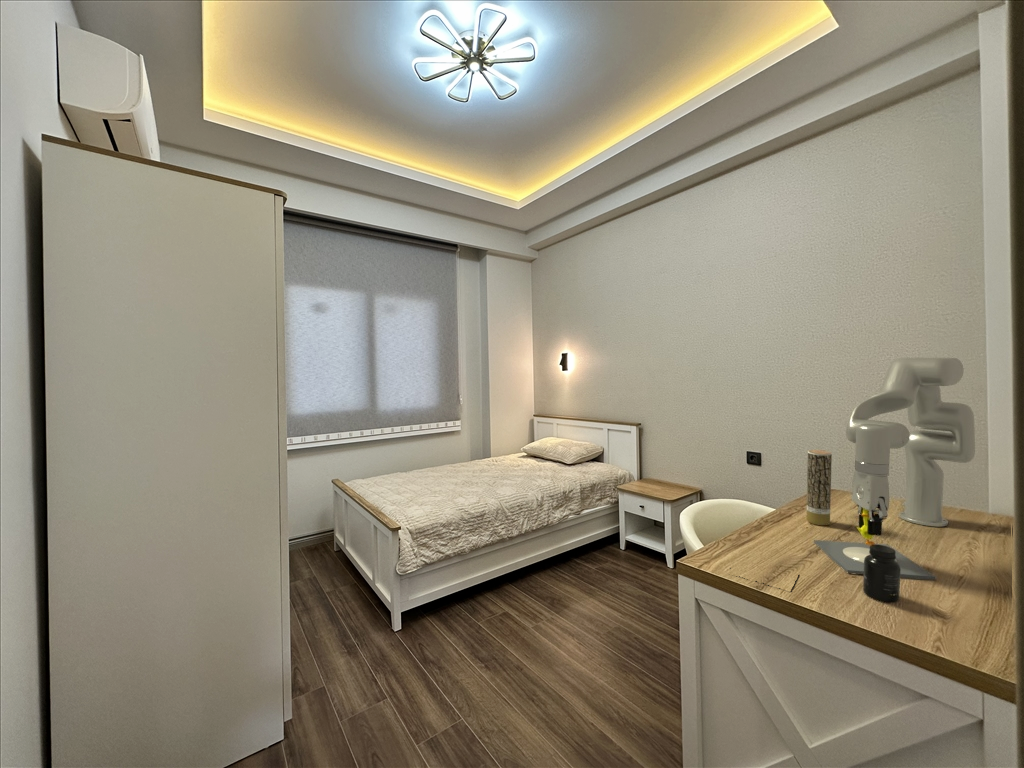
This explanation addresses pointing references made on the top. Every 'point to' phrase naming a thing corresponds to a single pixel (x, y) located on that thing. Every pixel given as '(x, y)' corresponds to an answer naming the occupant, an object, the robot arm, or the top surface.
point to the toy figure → (866, 527)
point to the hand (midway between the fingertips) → (869, 531)
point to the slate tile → (855, 553)
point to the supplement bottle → (881, 574)
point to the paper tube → (819, 487)
